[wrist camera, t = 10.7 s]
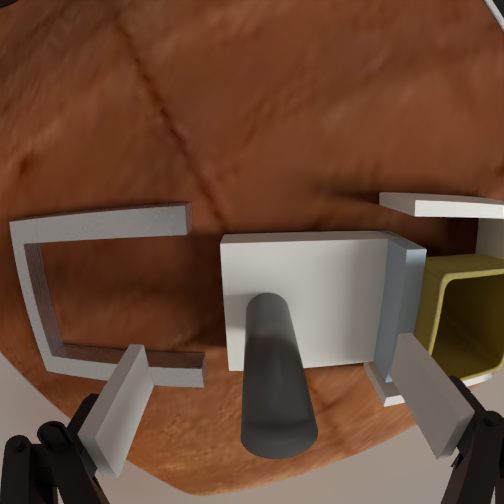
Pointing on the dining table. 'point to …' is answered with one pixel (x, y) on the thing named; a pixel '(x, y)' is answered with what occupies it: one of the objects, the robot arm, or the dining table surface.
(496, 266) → the flower pot
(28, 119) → the dining table surface
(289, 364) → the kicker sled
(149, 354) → the rail base
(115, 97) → the dining table surface
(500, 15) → the smartphone
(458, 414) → the robot arm
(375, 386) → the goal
